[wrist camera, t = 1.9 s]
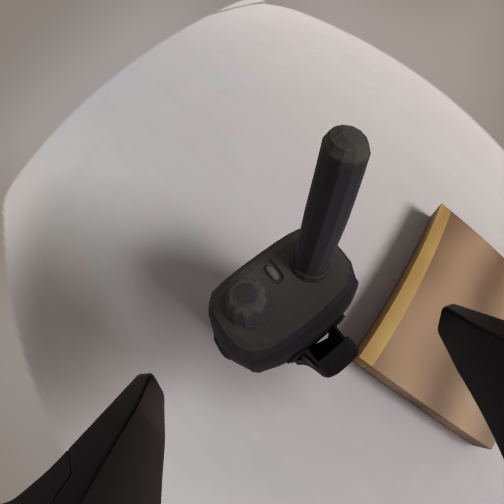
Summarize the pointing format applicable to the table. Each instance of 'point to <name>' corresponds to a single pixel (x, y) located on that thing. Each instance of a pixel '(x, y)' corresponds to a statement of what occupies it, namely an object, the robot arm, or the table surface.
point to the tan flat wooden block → (436, 323)
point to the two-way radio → (299, 276)
